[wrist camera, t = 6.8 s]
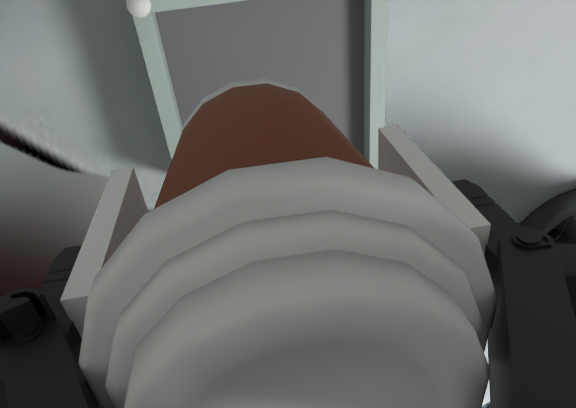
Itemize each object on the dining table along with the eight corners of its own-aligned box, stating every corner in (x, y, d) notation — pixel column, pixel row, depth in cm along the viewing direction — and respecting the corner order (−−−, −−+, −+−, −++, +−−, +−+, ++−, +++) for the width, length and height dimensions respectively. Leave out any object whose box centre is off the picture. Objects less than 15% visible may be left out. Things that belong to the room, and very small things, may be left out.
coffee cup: (380, 210, 21) (538, 476, 11) (194, 268, 21) (179, 583, 11) (341, 7, 16) (568, 150, 6) (98, 85, 16) (-90, 356, 6)
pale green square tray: (363, 152, 36) (385, 186, 32) (186, 180, 35) (185, 220, 30) (363, -49, 28) (394, -40, 24) (135, -21, 27) (123, -7, 22)
